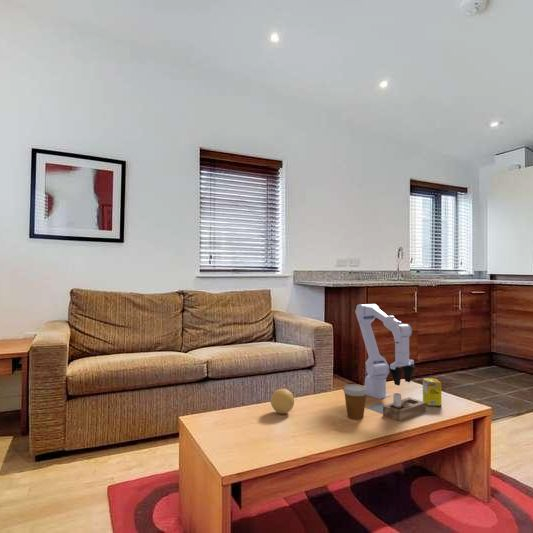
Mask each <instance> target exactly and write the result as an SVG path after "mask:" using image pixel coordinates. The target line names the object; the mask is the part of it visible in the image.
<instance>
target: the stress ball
mask: <svg viewBox="0 0 533 533" xmlns="http://www.w3.org/2000/svg"><path fill="white" fill-rule="evenodd" d="M270 405H271V407H272V408H273V410H274V411H275V412H276V413H278V414H280V415H286V414H287V413H289V412H291V410H293V408H294V405H295V397H294V395H293V393H292V392H291V391H290V390H289V389H287V388H278V389H276V390H274V391H273V393H272V394H271V398H270Z"/></svg>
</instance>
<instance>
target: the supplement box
mask: <svg viewBox="0 0 533 533" xmlns="http://www.w3.org/2000/svg"><path fill="white" fill-rule="evenodd" d="M422 401H423V402H426V407H431V408H434V407H435V408H442V382H441V381H439V379H437V378H422Z"/></svg>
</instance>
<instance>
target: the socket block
mask: <svg viewBox="0 0 533 533" xmlns="http://www.w3.org/2000/svg"><path fill="white" fill-rule="evenodd" d="M425 412H427V405H426V402H423V400H420V399H416V398H413V397H405V398H401V409H396V408H394V407H393V402H391V403H389V404H385V406H383V414H382V416H384V417H387V418H390V419H392V420H395V421H398V422H403V421H404V420H407V419H411V418H413V417H415V416H418V415H420V414H422V413H425Z"/></svg>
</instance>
